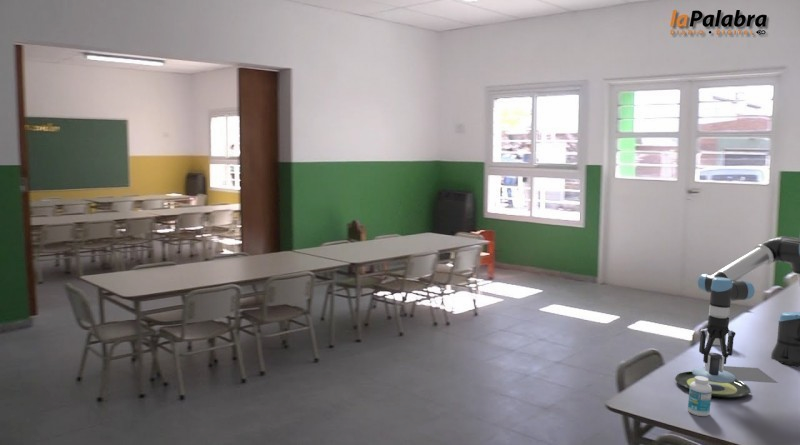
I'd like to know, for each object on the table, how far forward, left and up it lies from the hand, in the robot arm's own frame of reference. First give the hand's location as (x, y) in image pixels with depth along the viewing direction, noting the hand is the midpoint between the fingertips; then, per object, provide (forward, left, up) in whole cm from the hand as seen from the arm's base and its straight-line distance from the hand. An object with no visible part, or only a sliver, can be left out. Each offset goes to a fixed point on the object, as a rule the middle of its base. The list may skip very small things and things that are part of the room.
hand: (713, 370), depth 263 cm
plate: (0, 0, -8) cm, 8 cm away
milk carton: (-26, -64, -8) cm, 70 cm away
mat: (-21, -18, -7) cm, 29 cm away
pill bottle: (+15, +27, -8) cm, 32 cm away
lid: (0, 0, -2) cm, 2 cm away
